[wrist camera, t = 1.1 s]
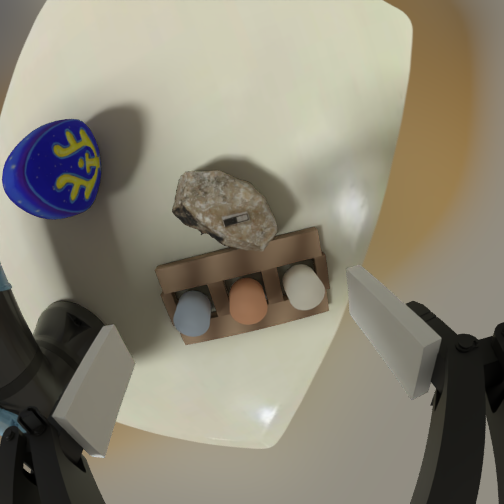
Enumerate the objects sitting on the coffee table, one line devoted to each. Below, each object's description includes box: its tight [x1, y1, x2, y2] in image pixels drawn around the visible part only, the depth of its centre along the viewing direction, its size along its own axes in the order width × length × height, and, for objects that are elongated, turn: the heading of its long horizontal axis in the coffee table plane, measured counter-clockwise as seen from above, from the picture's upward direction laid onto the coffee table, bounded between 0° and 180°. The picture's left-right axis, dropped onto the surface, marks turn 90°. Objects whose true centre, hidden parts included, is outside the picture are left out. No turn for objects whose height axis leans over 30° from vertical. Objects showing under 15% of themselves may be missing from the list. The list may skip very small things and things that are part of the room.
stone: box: [172, 170, 278, 251], centre depth 30 cm, size 7×12×7 cm, turn 70°
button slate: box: [173, 291, 211, 337], centre depth 34 cm, size 4×4×4 cm
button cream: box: [283, 264, 325, 310], centre depth 34 cm, size 4×4×4 cm
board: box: [155, 227, 330, 345], centre depth 36 cm, size 22×12×2 cm, turn 103°
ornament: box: [2, 119, 101, 219], centre depth 23 cm, size 11×9×15 cm
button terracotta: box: [229, 278, 268, 325], centre depth 34 cm, size 4×4×4 cm
